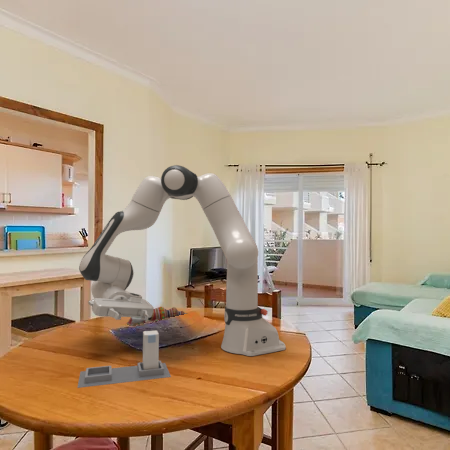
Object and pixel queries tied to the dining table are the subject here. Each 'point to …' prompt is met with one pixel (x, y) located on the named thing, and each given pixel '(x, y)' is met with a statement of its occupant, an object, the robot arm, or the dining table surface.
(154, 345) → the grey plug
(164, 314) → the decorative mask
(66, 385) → the dining table surface
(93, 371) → the grey flat plate
